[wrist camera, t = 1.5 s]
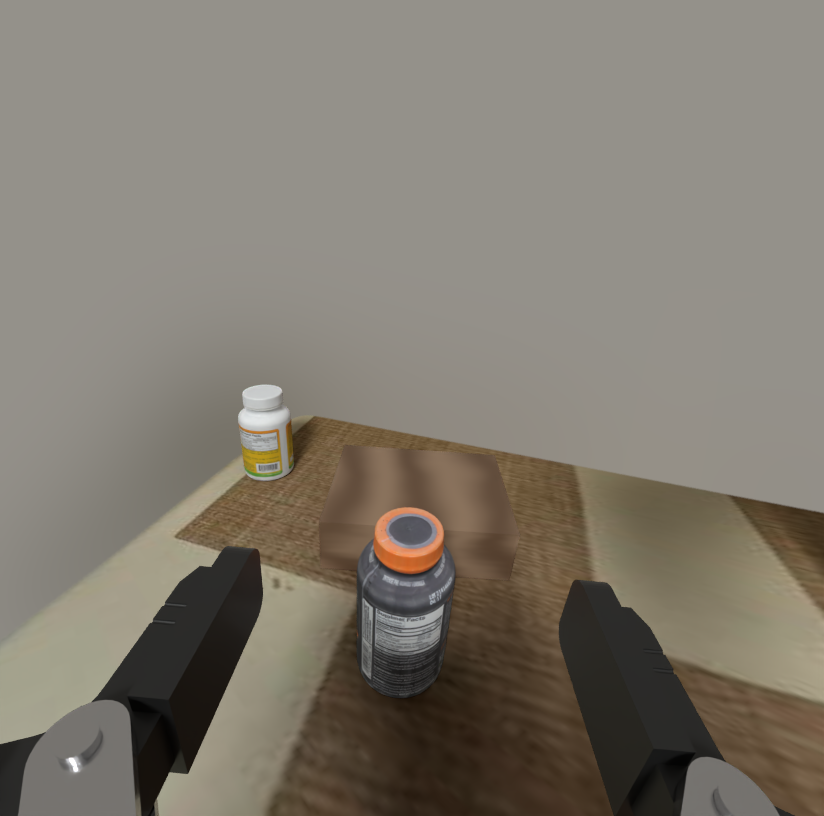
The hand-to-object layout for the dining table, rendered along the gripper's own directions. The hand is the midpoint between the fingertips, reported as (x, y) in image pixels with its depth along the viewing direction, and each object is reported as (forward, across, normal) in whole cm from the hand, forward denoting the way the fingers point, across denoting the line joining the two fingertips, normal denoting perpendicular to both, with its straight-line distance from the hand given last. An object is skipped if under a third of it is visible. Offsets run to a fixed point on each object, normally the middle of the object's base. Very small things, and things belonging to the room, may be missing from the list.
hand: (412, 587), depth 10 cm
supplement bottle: (+32, +16, +18) cm, 40 cm away
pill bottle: (+11, 0, +18) cm, 21 cm away
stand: (+24, -1, +18) cm, 30 cm away
